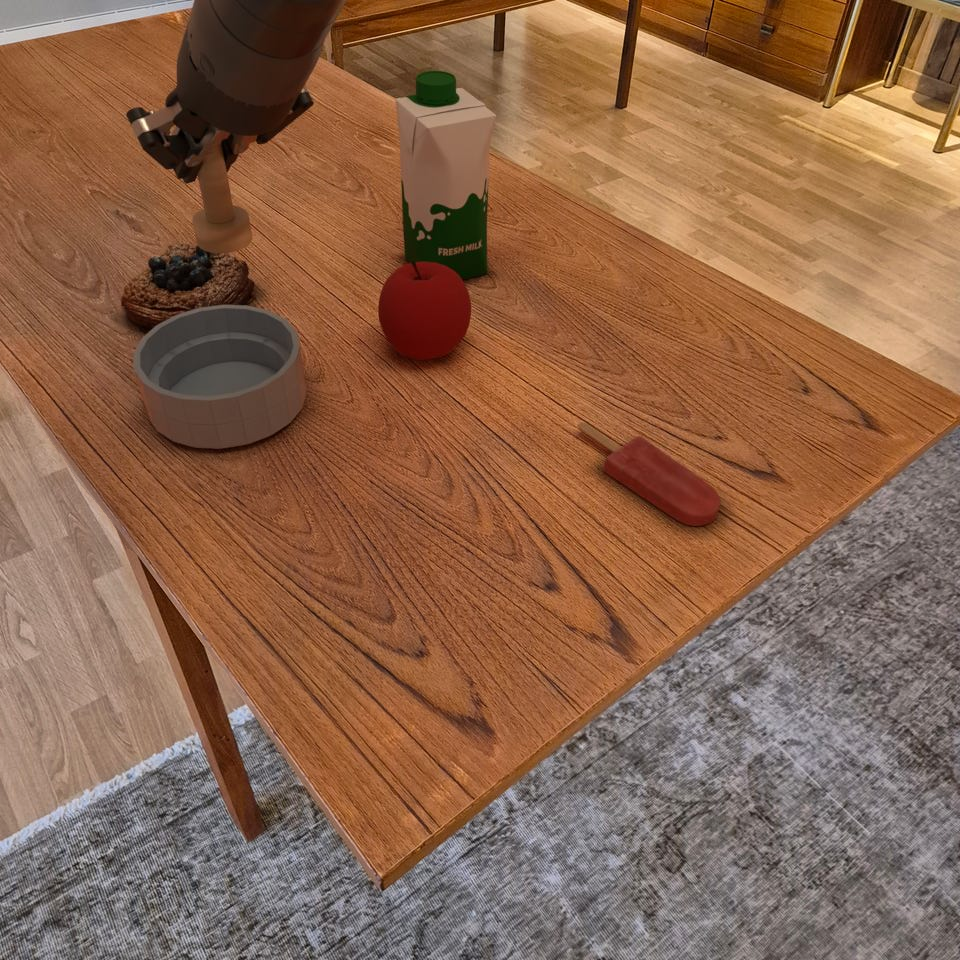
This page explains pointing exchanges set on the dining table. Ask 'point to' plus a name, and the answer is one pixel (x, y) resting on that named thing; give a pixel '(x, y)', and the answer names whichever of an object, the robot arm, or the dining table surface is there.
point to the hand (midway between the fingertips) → (199, 166)
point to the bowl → (221, 375)
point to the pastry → (185, 285)
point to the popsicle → (659, 479)
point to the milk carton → (445, 174)
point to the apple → (424, 310)
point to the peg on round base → (219, 210)
